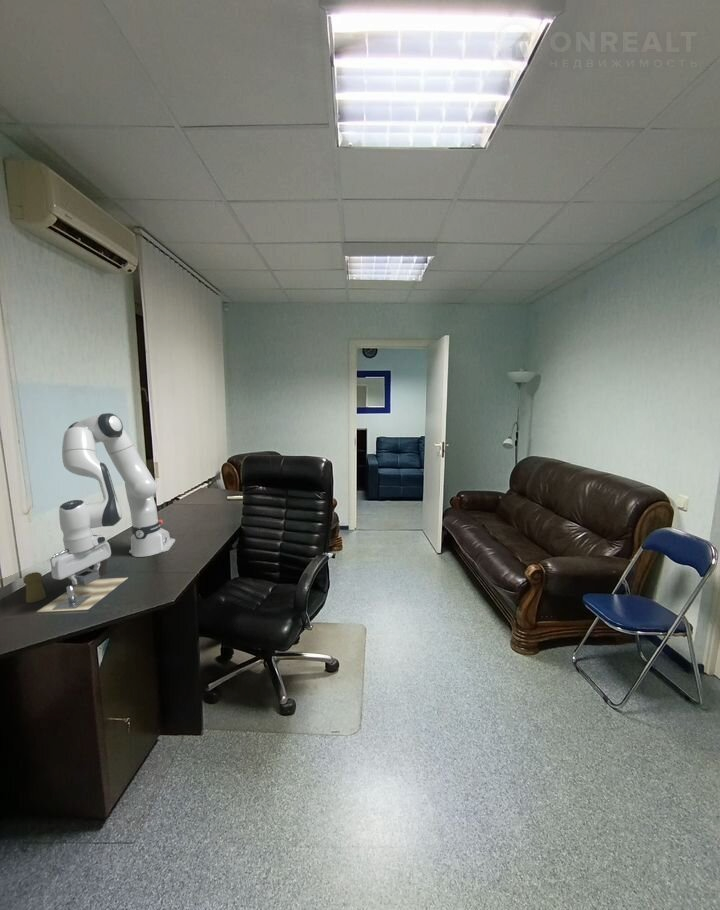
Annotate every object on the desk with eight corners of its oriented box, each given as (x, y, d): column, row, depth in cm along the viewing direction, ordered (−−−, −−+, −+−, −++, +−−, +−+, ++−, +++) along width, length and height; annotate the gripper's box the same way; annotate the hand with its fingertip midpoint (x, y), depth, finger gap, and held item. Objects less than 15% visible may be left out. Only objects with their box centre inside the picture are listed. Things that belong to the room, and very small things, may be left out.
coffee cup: (114, 574, 160) (111, 552, 159) (93, 582, 154) (89, 559, 152) (106, 570, 165) (102, 549, 163) (84, 578, 158) (81, 555, 157)
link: (87, 576, 145) (86, 569, 144) (100, 577, 143) (98, 570, 143) (72, 584, 139) (71, 576, 139) (84, 585, 138) (83, 577, 137)
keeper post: (69, 598, 139) (66, 581, 139) (91, 596, 140) (88, 580, 139) (52, 609, 132) (49, 592, 131) (75, 608, 132) (72, 591, 131)
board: (84, 582, 154) (84, 579, 154) (128, 580, 155) (128, 577, 155) (36, 615, 131) (35, 612, 130) (88, 612, 131) (88, 609, 131)
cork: (25, 601, 140) (20, 574, 139) (46, 595, 145) (41, 568, 143) (26, 607, 136) (21, 579, 135) (48, 601, 140) (43, 573, 139)
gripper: (56, 556, 128) (63, 594, 130) (110, 534, 147) (116, 567, 150) (43, 555, 130) (50, 592, 132) (98, 533, 149) (104, 566, 152)
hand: (86, 579), depth 141 cm, fingers closed on link, 6 cm apart
